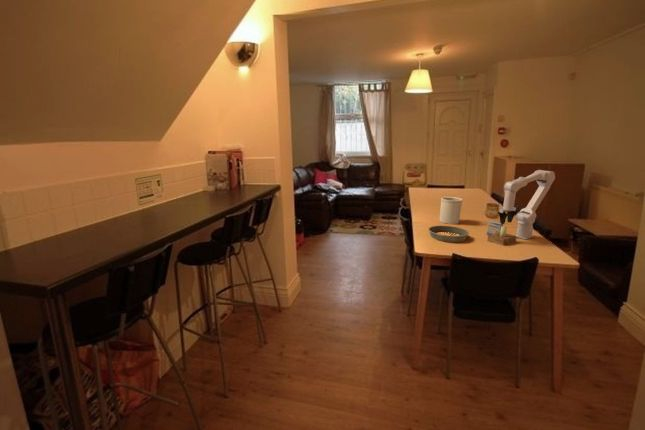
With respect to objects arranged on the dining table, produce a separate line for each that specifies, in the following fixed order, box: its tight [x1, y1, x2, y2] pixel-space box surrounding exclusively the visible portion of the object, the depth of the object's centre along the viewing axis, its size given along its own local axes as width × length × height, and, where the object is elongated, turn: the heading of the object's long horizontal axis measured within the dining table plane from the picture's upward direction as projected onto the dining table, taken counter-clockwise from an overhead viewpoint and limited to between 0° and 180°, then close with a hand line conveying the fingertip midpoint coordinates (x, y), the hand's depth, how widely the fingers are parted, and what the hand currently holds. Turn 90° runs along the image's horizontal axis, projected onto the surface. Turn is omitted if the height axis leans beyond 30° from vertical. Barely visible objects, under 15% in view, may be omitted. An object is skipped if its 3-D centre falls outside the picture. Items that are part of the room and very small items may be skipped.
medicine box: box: [486, 220, 504, 236], centre depth 226 cm, size 8×4×9 cm, turn 45°
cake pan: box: [427, 225, 470, 243], centre depth 222 cm, size 25×25×4 cm
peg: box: [500, 226, 507, 237], centre depth 214 cm, size 3×3×9 cm
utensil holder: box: [439, 196, 464, 225], centre depth 257 cm, size 15×15×18 cm
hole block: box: [487, 232, 518, 246], centre depth 215 cm, size 14×10×4 cm
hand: (505, 222), depth 217 cm, fingers open, 7 cm apart
